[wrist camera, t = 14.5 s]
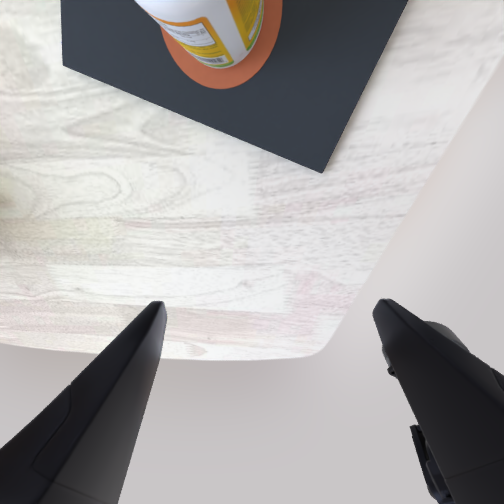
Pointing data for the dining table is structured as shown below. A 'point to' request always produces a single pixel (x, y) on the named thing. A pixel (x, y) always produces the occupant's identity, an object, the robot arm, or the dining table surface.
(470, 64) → the dining table surface
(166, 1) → the supplement bottle
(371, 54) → the placemat
